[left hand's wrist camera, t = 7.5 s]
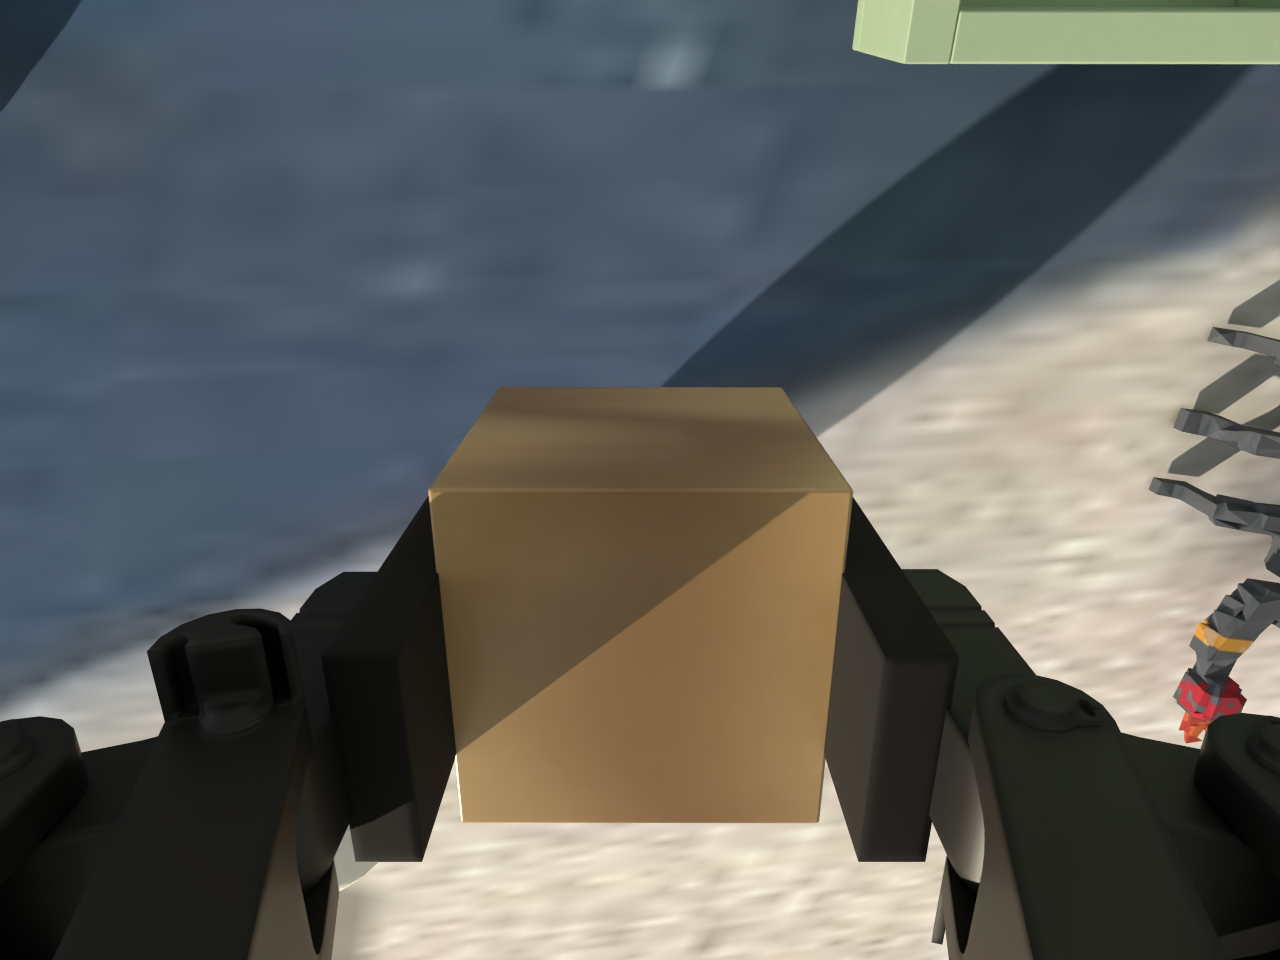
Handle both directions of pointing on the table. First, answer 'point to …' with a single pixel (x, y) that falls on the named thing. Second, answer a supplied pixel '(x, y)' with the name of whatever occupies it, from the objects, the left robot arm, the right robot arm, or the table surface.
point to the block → (640, 605)
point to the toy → (1253, 600)
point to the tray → (1070, 31)
